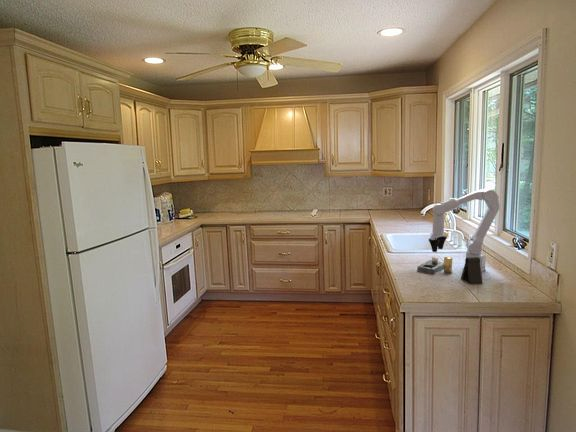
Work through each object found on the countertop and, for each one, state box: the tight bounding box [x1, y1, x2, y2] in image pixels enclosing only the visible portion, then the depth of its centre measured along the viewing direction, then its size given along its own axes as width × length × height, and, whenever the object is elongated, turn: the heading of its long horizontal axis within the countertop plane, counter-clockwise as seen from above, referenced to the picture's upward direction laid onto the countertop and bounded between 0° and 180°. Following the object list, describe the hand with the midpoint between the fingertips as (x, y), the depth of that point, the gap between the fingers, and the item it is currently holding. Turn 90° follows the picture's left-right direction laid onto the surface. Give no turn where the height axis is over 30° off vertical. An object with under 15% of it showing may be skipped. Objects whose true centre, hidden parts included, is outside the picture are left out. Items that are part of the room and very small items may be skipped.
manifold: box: [416, 256, 444, 275], centre depth 214 cm, size 9×16×6 cm, turn 137°
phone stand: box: [460, 257, 484, 285], centre depth 193 cm, size 9×6×12 cm, turn 6°
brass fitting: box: [443, 256, 453, 275], centre depth 207 cm, size 4×4×8 cm
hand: (437, 250), depth 216 cm, fingers open, 7 cm apart
